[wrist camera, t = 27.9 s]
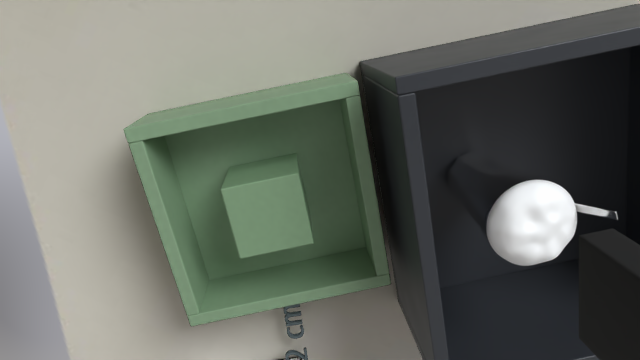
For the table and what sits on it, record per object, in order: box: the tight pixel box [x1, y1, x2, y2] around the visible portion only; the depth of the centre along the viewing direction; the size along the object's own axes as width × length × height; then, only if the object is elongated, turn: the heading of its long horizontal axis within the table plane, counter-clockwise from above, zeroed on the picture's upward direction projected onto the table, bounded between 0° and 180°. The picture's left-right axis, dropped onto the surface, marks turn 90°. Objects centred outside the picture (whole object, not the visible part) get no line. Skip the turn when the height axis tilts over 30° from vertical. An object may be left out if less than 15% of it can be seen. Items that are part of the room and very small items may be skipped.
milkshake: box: [448, 152, 618, 266], centre depth 26 cm, size 5×5×10 cm
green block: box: [221, 153, 314, 259], centre depth 28 cm, size 4×4×4 cm
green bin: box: [124, 73, 391, 326], centre depth 28 cm, size 13×13×5 cm
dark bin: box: [360, 4, 640, 360], centre depth 27 cm, size 18×18×10 cm
